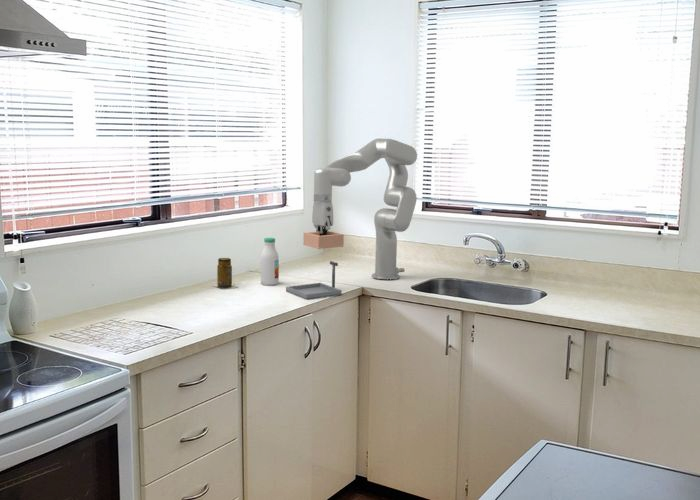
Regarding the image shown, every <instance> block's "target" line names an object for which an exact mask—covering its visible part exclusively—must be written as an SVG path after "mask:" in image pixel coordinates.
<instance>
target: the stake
mask: <svg viewBox="0 0 700 500" xmlns="http://www.w3.org/2000/svg"><path fill="white" fill-rule="evenodd" d="M329 265H331V269H332V271H331V273H332V274H331V275H332V276H331V287H334V288H336V267H338V265H339V263H338V262H336V261H332V260H331V261H329Z"/></svg>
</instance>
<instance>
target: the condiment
mask: <svg viewBox="0 0 700 500" xmlns="http://www.w3.org/2000/svg"><path fill="white" fill-rule="evenodd" d="M217 261H218V262H217V267H216V268H217V270H216V271H217V273H216V275H217V276H216V277H217V281H216V282H217V284H214V285H212V286H213V287H216V288H219V289H222V290H228V289H235V288H237V286H236V285H233V284H232V283H233V267H232V266H233V265H232V259H231V258H230V257H220V258H217Z"/></svg>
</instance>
